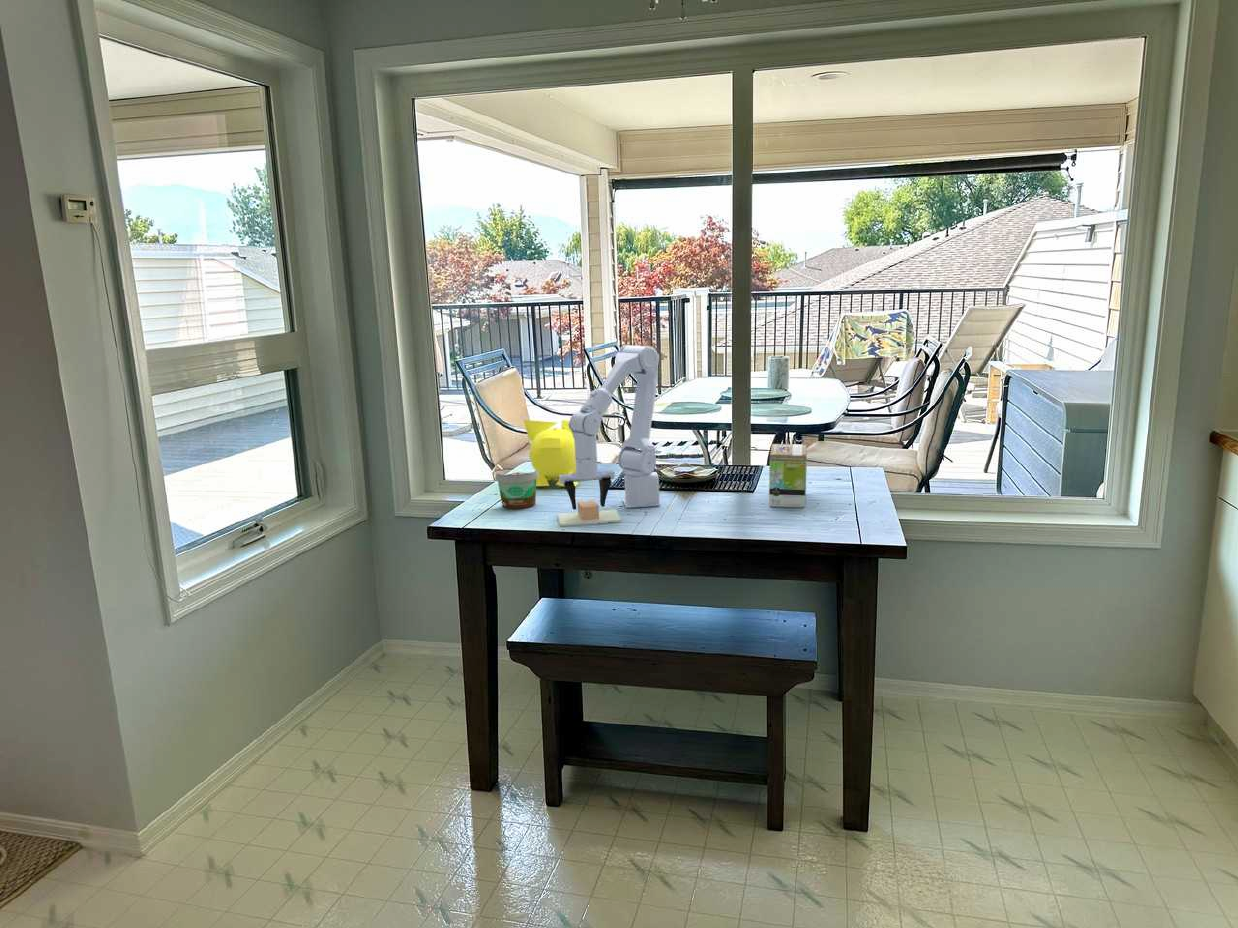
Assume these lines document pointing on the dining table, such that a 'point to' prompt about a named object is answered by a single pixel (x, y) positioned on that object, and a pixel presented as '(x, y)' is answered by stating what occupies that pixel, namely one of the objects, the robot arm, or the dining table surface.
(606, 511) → the mat
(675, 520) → the dining table surface
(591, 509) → the light orange block
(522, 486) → the food container
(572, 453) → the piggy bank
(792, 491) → the tea box
